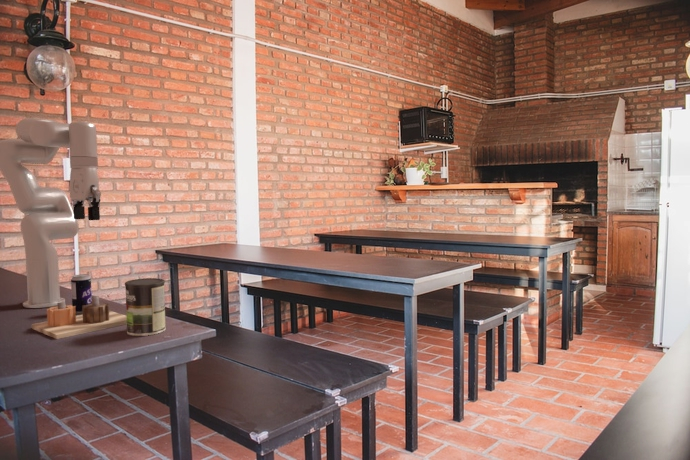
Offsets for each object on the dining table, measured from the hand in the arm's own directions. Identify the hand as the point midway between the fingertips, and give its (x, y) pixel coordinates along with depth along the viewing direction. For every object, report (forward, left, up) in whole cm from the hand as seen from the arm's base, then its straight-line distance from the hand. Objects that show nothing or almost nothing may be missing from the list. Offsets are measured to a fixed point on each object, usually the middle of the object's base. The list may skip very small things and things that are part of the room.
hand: (86, 219), depth 157 cm
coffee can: (+29, +2, -31) cm, 42 cm away
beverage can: (-8, +1, -31) cm, 32 cm away
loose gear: (+6, -11, -29) cm, 32 cm away
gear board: (+9, -6, -30) cm, 32 cm away
